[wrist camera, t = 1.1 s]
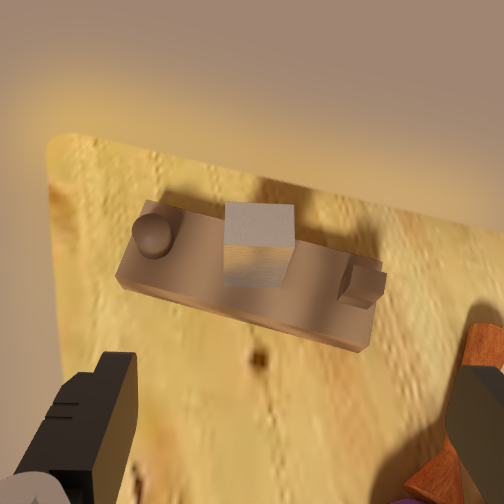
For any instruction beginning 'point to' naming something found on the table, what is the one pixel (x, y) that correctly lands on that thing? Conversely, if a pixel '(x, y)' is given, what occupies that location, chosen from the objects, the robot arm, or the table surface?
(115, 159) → the table surface
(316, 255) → the plane body
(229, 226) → the lever cap
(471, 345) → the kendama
